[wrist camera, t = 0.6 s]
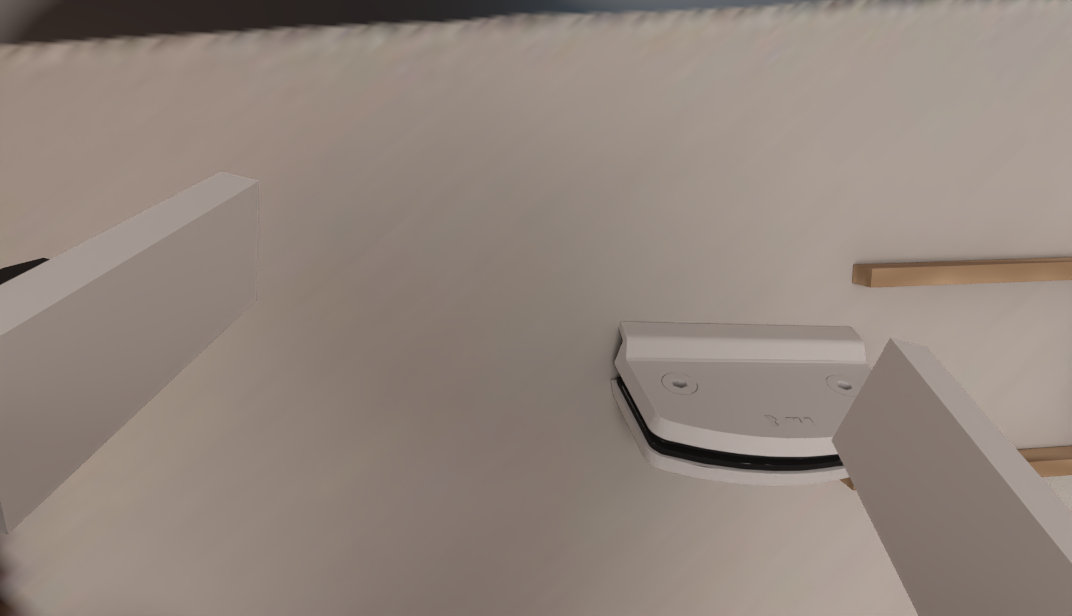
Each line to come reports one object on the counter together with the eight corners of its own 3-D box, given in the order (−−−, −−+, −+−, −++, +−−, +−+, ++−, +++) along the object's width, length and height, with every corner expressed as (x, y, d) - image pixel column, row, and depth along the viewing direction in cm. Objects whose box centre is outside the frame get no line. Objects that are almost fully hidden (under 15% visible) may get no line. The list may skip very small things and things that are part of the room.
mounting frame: (1087, 459, 47) (1113, 471, 45) (836, 476, 45) (853, 490, 43) (1120, 255, 44) (1150, 258, 42) (853, 264, 42) (872, 268, 40)
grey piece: (856, 326, 43) (949, 426, 35) (834, 382, 46) (916, 488, 37) (614, 321, 41) (650, 425, 33) (604, 379, 44) (636, 490, 35)
